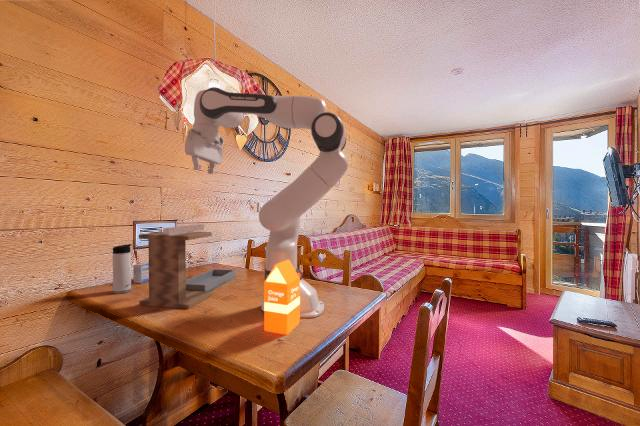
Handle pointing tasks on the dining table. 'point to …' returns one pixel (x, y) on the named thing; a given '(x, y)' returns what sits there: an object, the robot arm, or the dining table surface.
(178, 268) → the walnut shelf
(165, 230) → the bar
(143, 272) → the medicine box
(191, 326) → the dining table surface
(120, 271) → the travel mug
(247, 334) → the dining table surface
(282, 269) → the orange juice
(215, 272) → the blue-gray tray
